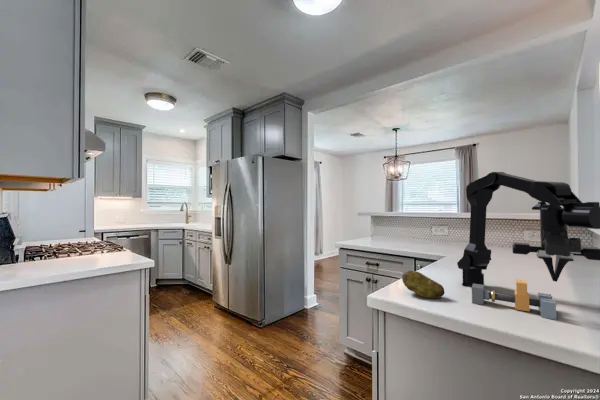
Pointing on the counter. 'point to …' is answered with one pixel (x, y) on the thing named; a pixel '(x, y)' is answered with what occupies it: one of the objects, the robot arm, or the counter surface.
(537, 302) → the black rod
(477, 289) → the connector
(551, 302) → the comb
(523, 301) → the sleeve
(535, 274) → the counter surface
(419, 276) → the potato
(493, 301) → the band
